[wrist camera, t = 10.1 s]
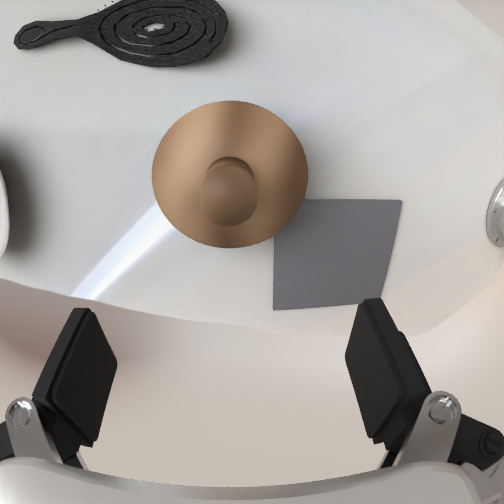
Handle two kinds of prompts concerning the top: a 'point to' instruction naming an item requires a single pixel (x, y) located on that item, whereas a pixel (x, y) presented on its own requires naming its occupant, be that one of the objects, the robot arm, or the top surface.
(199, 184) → the lid
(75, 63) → the top surface
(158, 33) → the hairbrush
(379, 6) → the top surface
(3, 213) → the dish
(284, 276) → the mat
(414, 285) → the top surface
